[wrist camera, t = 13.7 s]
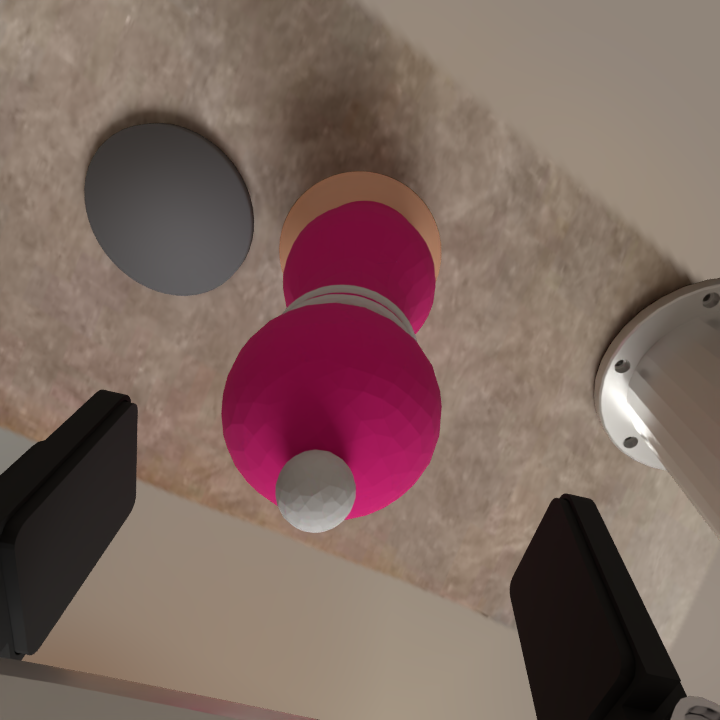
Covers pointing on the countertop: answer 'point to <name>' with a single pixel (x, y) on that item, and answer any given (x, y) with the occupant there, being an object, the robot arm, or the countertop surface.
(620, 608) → the robot arm
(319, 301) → the pepper mill
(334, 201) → the peach oval dome
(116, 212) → the dark gray oval dome
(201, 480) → the countertop surface
